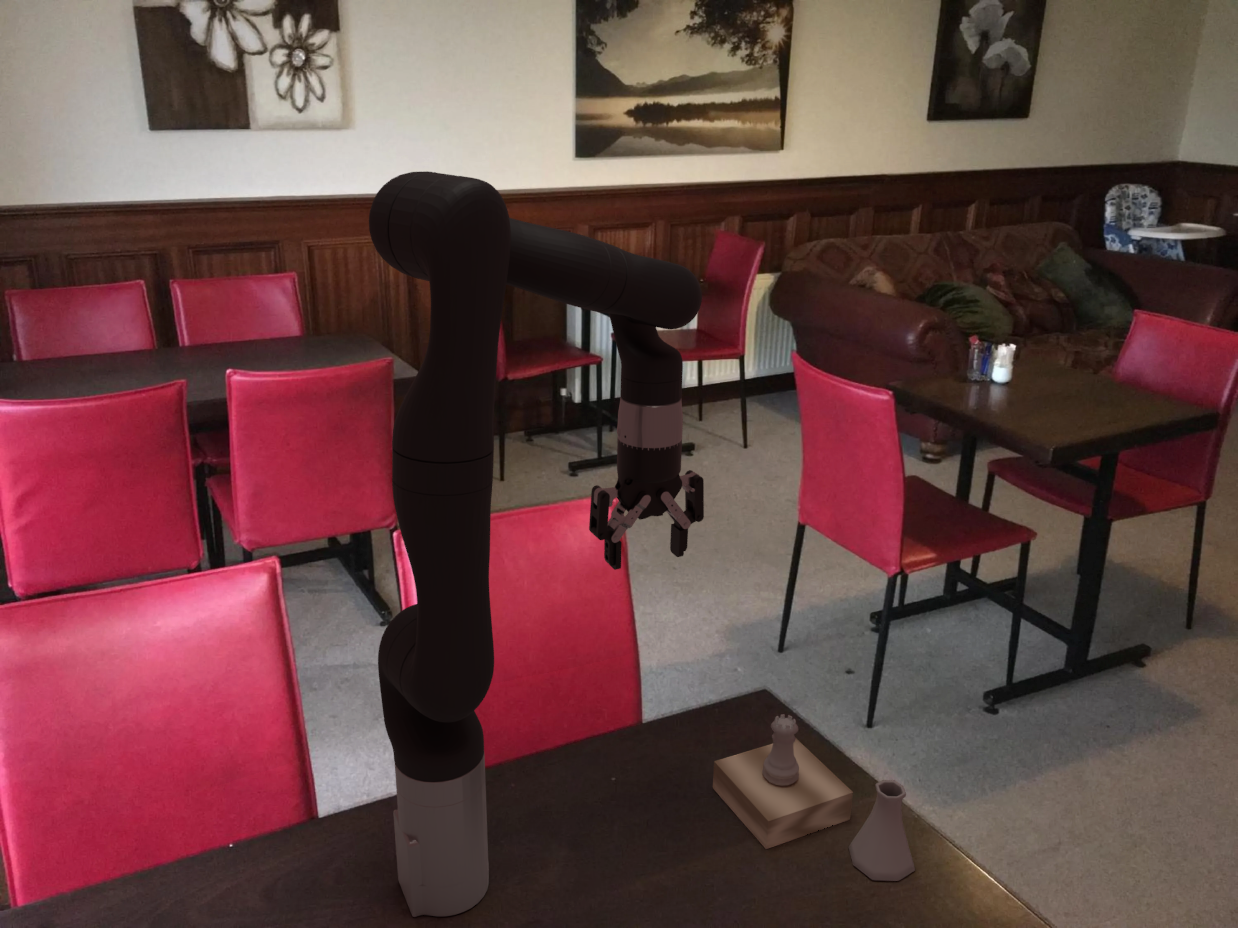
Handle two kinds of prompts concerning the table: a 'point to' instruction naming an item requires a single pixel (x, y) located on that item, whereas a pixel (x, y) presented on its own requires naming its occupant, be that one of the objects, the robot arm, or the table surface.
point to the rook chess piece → (782, 753)
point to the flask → (883, 837)
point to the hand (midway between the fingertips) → (646, 560)
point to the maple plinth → (781, 796)
